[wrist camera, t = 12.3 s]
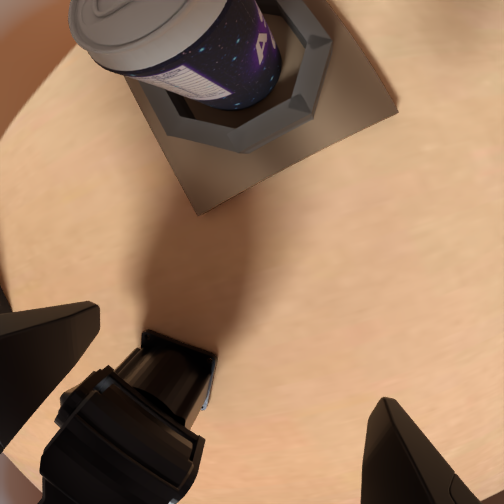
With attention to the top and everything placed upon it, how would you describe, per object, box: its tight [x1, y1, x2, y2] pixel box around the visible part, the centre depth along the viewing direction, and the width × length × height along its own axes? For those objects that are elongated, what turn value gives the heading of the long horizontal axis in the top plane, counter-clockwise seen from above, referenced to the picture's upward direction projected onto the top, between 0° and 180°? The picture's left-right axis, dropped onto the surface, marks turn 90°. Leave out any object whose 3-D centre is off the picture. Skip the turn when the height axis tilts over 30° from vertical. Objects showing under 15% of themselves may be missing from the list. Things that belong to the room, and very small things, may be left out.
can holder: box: [124, 0, 399, 216], centre depth 17 cm, size 14×14×4 cm
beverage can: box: [68, 0, 282, 111], centre depth 12 cm, size 6×6×12 cm
